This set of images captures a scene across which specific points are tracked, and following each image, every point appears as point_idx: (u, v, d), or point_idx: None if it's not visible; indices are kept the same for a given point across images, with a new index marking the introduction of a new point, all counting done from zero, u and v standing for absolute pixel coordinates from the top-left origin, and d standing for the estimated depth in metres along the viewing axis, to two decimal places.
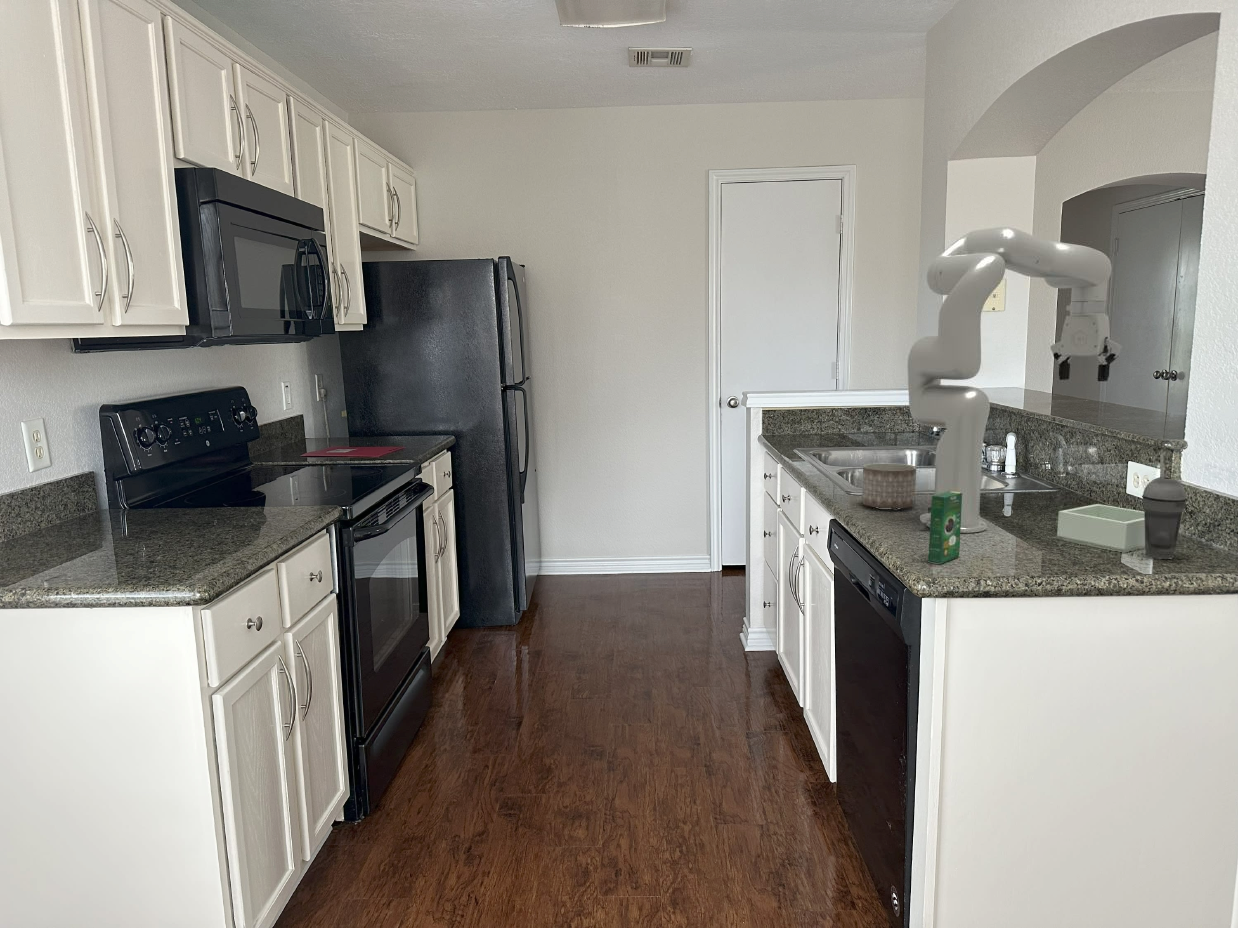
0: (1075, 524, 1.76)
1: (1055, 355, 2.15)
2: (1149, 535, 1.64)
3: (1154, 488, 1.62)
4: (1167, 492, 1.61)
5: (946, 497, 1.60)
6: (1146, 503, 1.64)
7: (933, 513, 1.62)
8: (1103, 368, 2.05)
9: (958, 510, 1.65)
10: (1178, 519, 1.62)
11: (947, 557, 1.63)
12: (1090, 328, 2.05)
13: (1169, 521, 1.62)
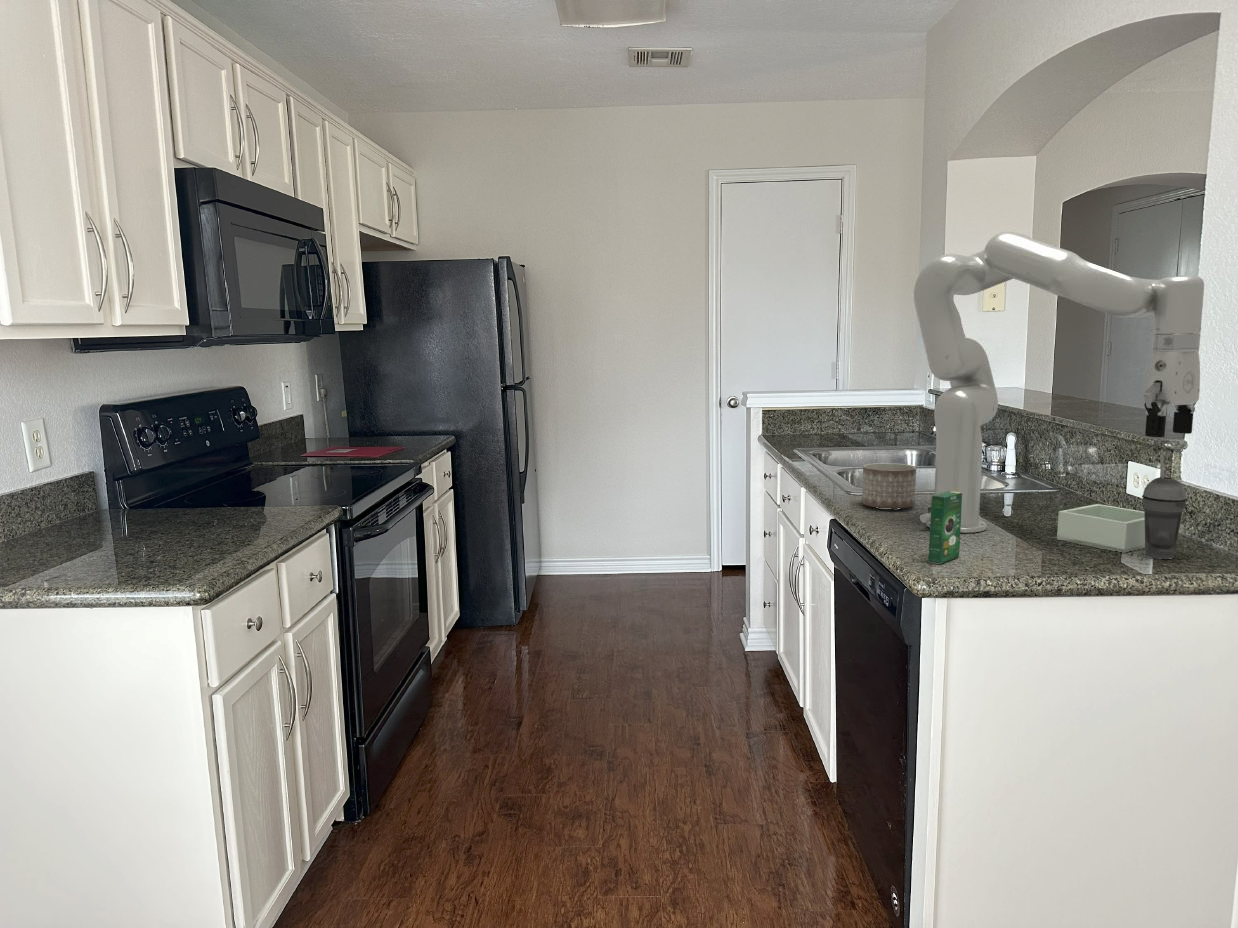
0: (1075, 524, 1.76)
1: (1156, 405, 1.58)
2: (1149, 535, 1.64)
3: (1154, 488, 1.62)
4: (1167, 492, 1.61)
5: (946, 497, 1.60)
6: (1146, 503, 1.64)
7: (933, 513, 1.62)
8: None
9: (958, 510, 1.65)
10: (1178, 519, 1.62)
11: (947, 557, 1.63)
12: (1196, 368, 1.60)
13: (1169, 521, 1.62)
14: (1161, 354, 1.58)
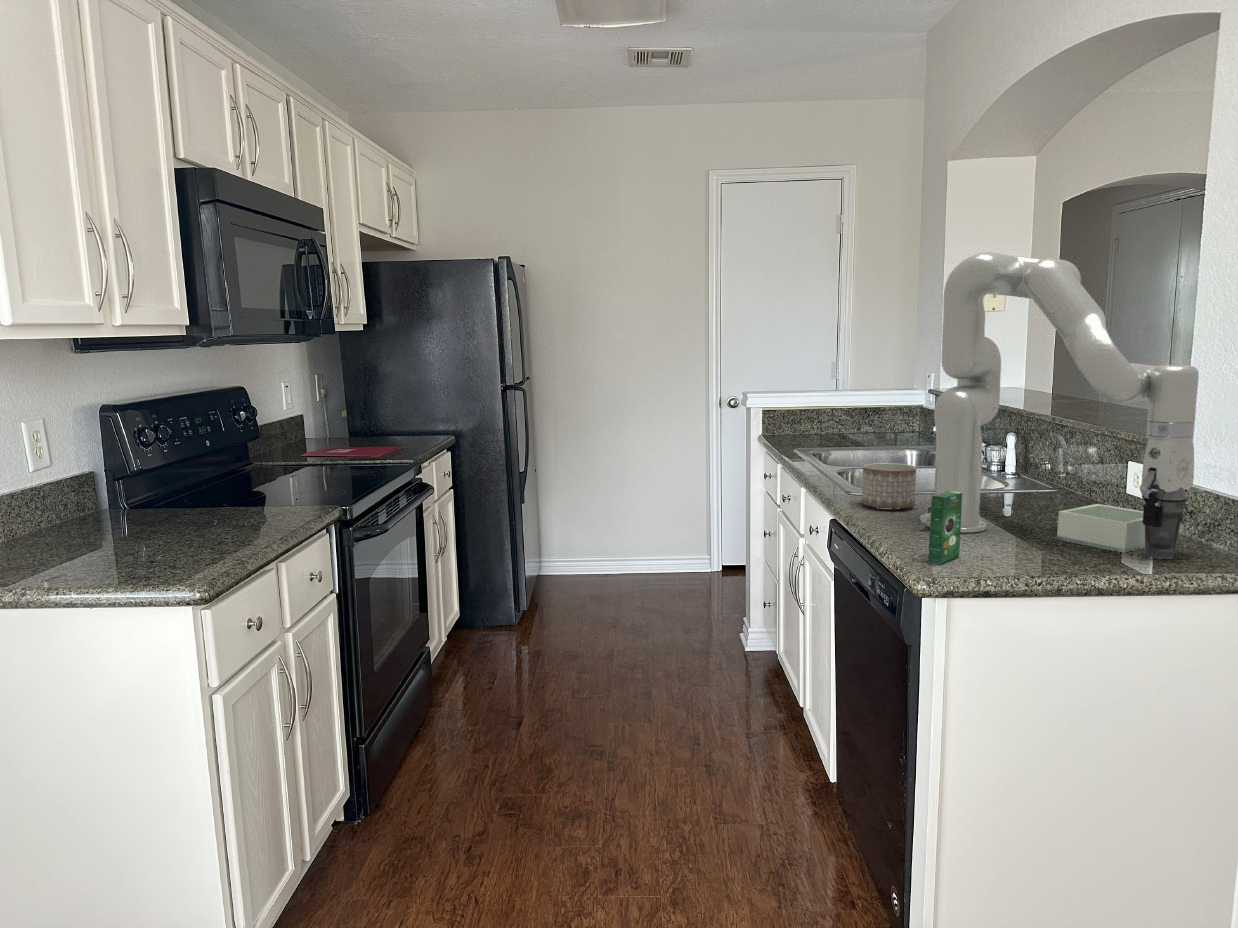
0: (1075, 524, 1.76)
1: (1153, 496, 1.60)
2: (1149, 535, 1.64)
3: (1154, 488, 1.62)
4: None
5: (946, 497, 1.60)
6: None
7: (933, 513, 1.62)
8: None
9: (958, 510, 1.65)
10: (1178, 519, 1.62)
11: (947, 557, 1.63)
12: (1190, 454, 1.62)
13: (1169, 521, 1.62)
14: (1155, 441, 1.60)
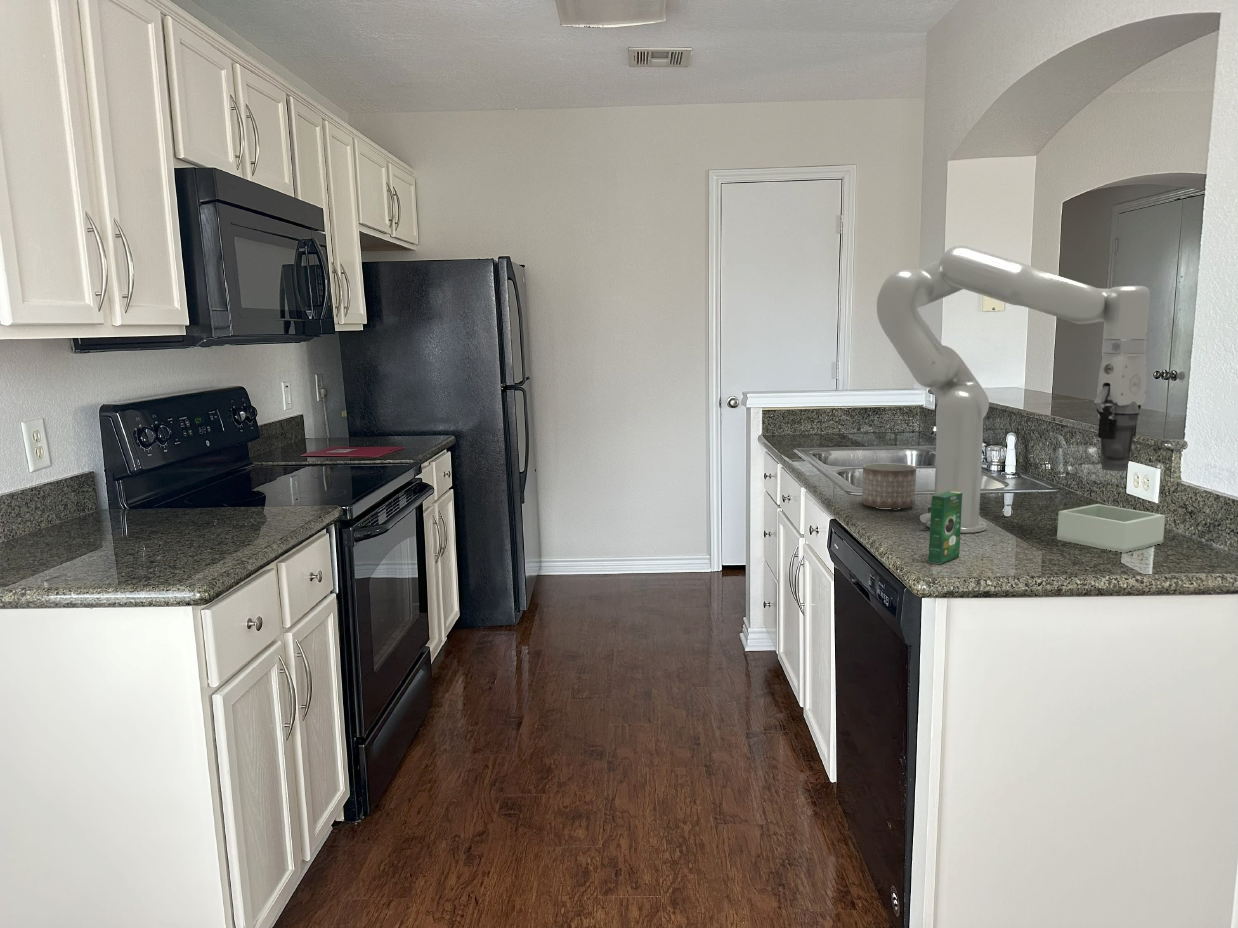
0: (1075, 524, 1.76)
1: (1107, 409, 1.70)
2: (1104, 448, 1.74)
3: None
4: (1120, 406, 1.71)
5: (946, 497, 1.60)
6: None
7: (933, 513, 1.62)
8: None
9: (958, 510, 1.65)
10: (1131, 432, 1.72)
11: (947, 557, 1.63)
12: (1142, 371, 1.72)
13: (1123, 434, 1.72)
14: (1109, 358, 1.70)
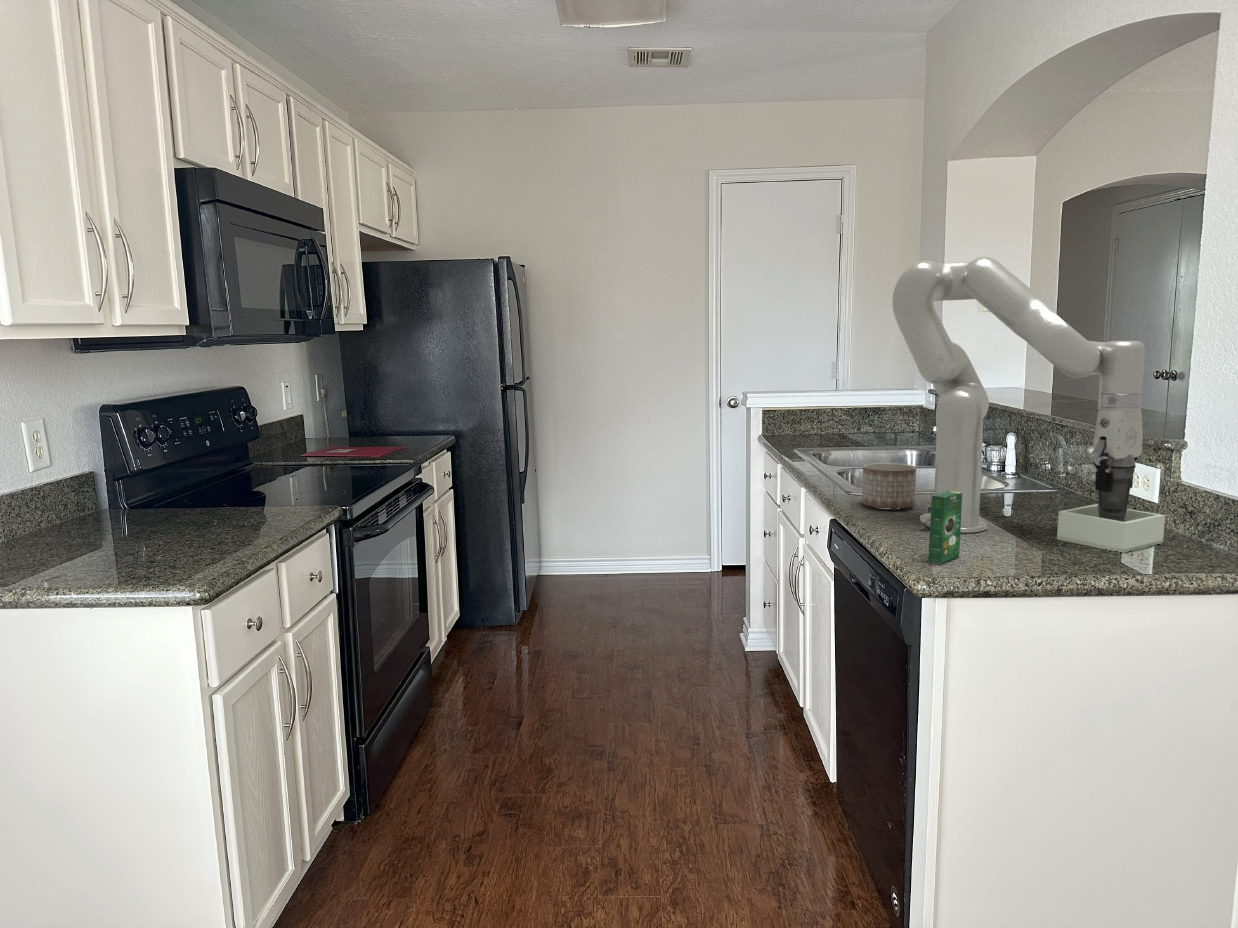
0: (1075, 524, 1.76)
1: (1103, 463, 1.72)
2: (1101, 500, 1.76)
3: None
4: (1117, 460, 1.72)
5: (946, 497, 1.60)
6: None
7: (933, 513, 1.62)
8: None
9: (958, 510, 1.65)
10: (1128, 484, 1.73)
11: (947, 557, 1.63)
12: (1138, 424, 1.73)
13: (1120, 486, 1.73)
14: (1105, 412, 1.72)
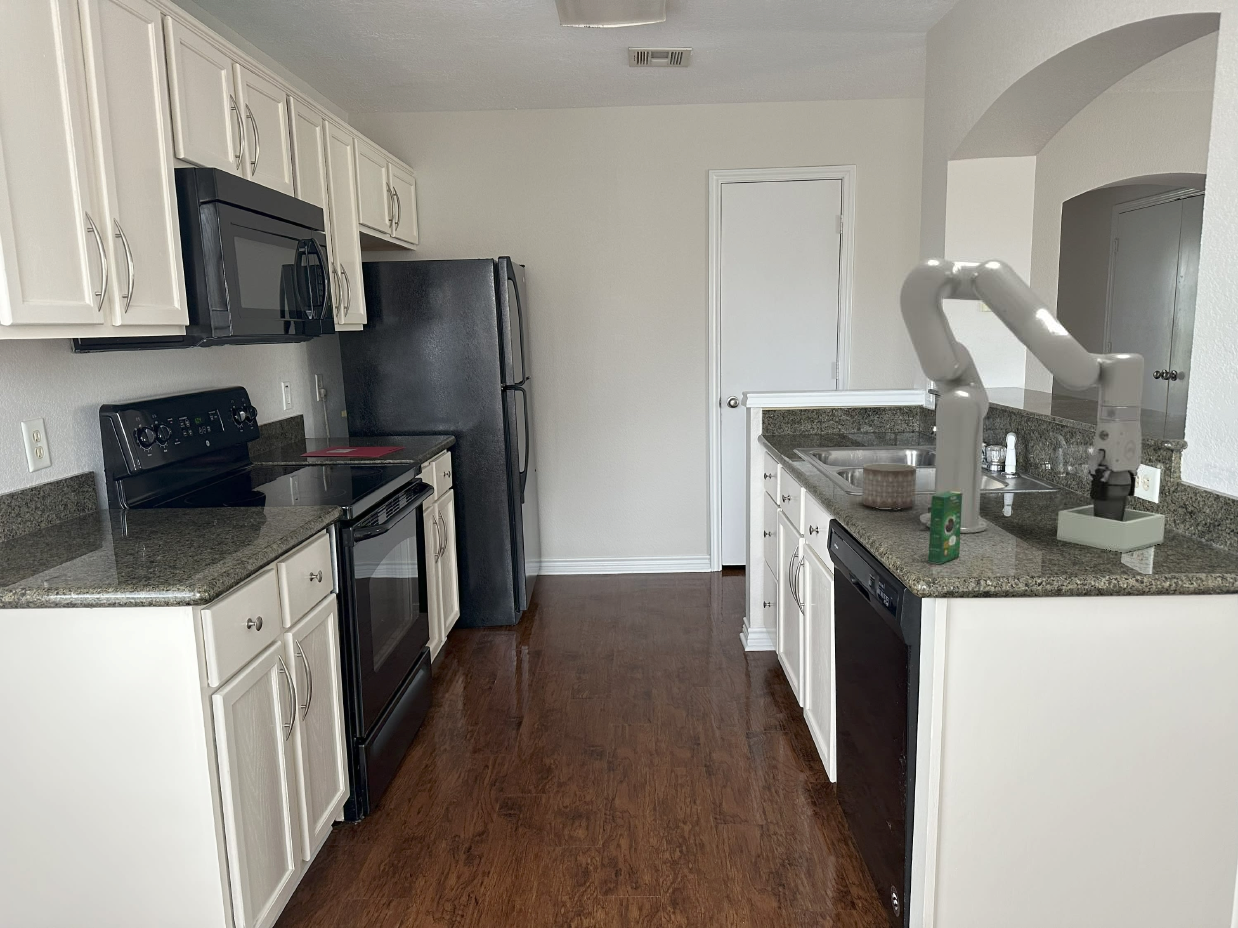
0: (1075, 524, 1.76)
1: (1099, 472, 1.71)
2: None
3: (1102, 473, 1.74)
4: (1113, 477, 1.73)
5: (946, 497, 1.60)
6: None
7: (933, 513, 1.62)
8: None
9: (958, 510, 1.65)
10: (1124, 502, 1.74)
11: (947, 557, 1.63)
12: (1137, 437, 1.73)
13: (1116, 504, 1.73)
14: (1105, 424, 1.72)
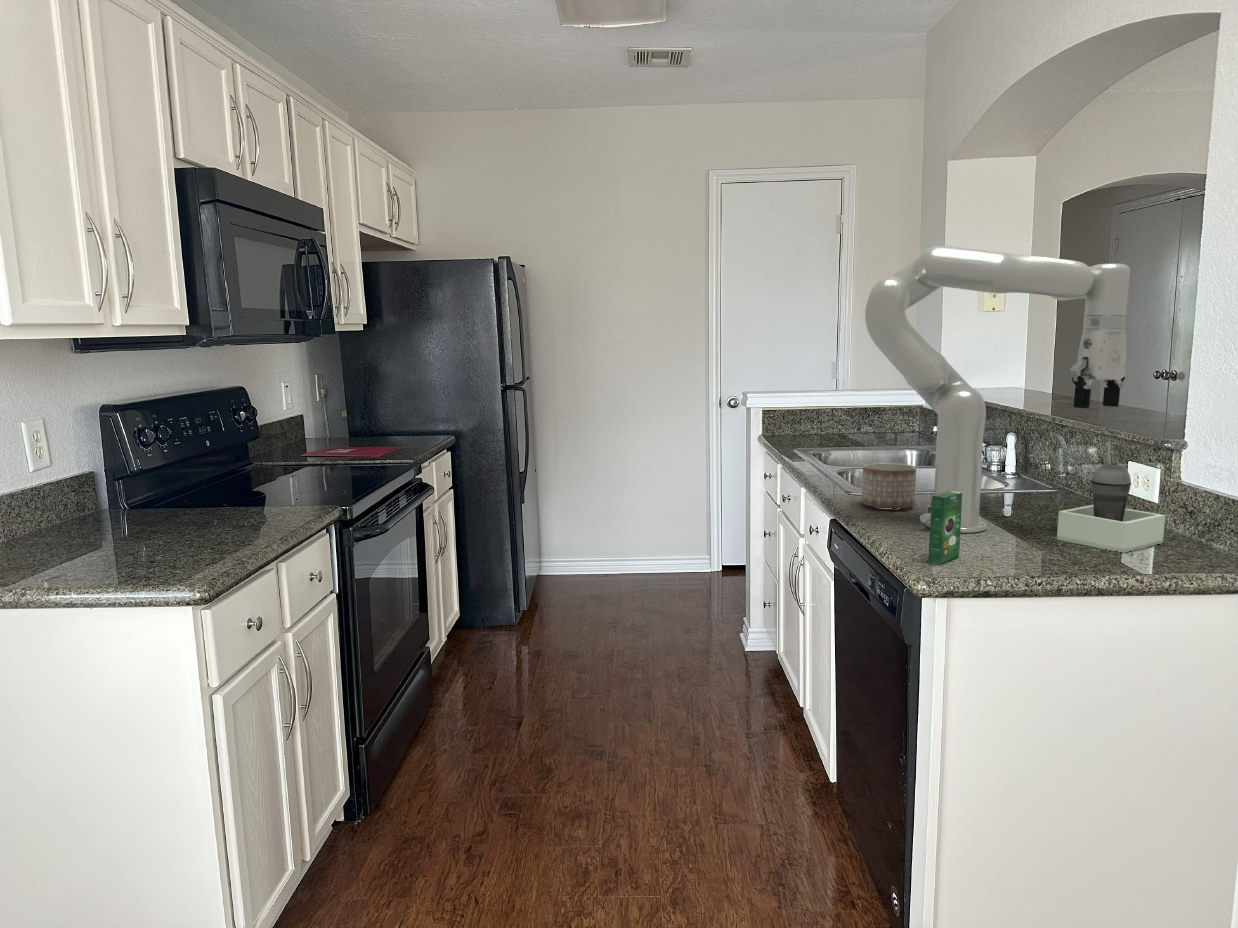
0: (1075, 524, 1.76)
1: (1081, 379, 1.76)
2: None
3: (1102, 473, 1.74)
4: (1113, 477, 1.73)
5: (946, 497, 1.60)
6: (1094, 487, 1.76)
7: (933, 513, 1.62)
8: None
9: (958, 510, 1.65)
10: (1123, 502, 1.74)
11: (947, 557, 1.63)
12: (1122, 347, 1.77)
13: (1116, 504, 1.73)
14: (1089, 333, 1.76)
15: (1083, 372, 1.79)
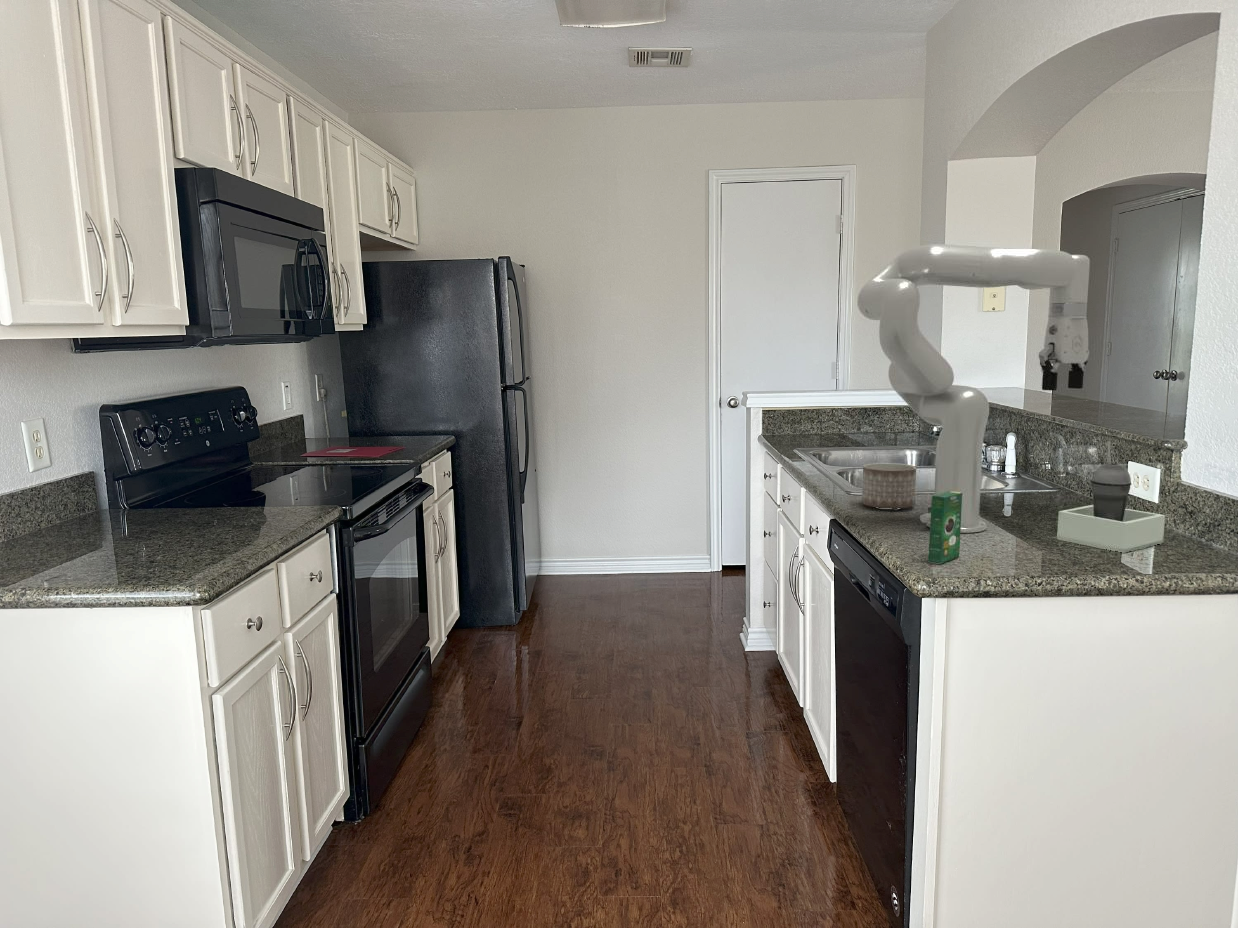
0: (1075, 524, 1.76)
1: (1048, 363, 1.88)
2: None
3: (1102, 473, 1.74)
4: (1113, 477, 1.73)
5: (946, 497, 1.60)
6: (1094, 487, 1.76)
7: (933, 513, 1.62)
8: None
9: (958, 510, 1.65)
10: (1123, 502, 1.74)
11: (947, 557, 1.63)
12: (1084, 332, 1.90)
13: (1116, 504, 1.73)
14: (1054, 320, 1.89)
15: (1050, 357, 1.91)
